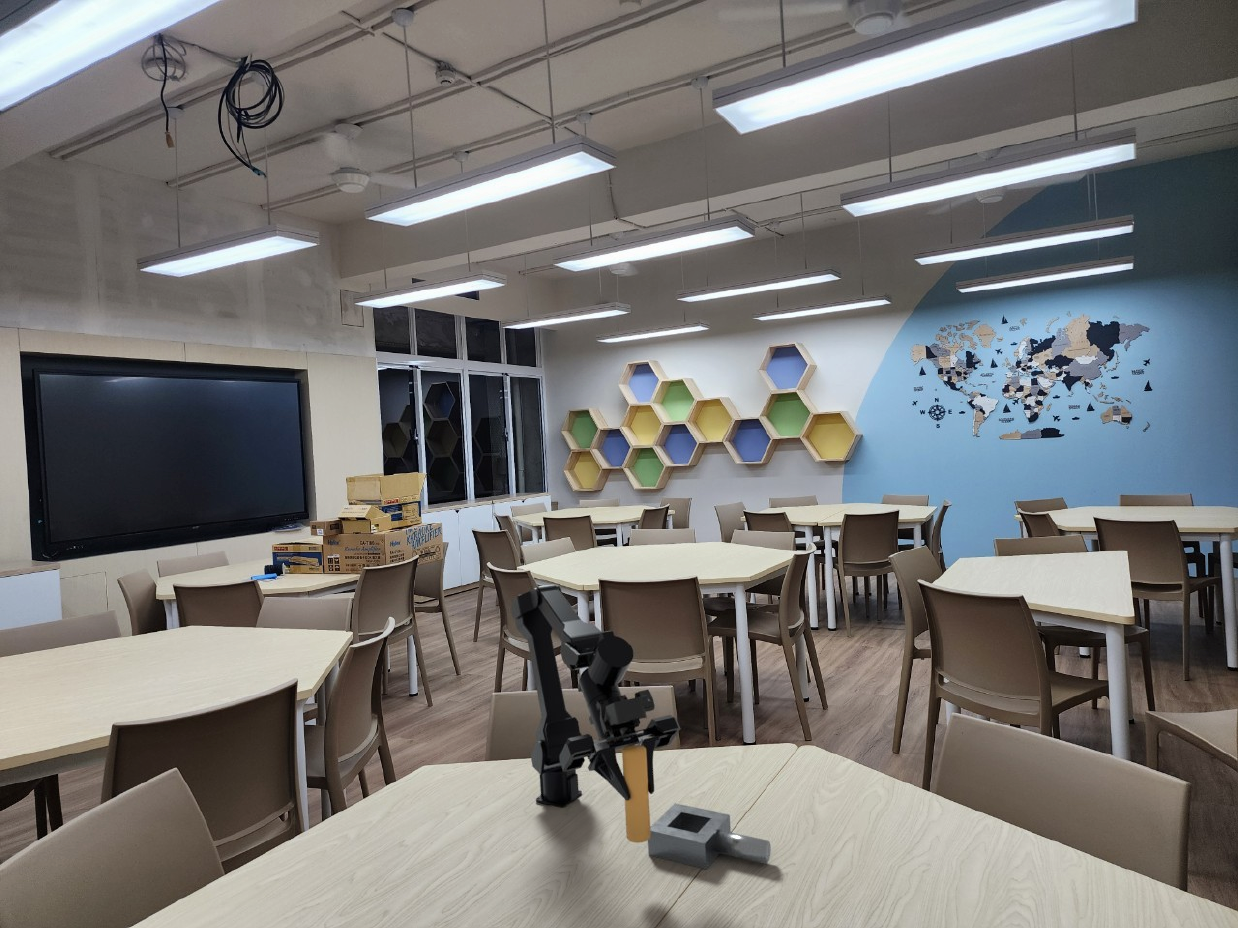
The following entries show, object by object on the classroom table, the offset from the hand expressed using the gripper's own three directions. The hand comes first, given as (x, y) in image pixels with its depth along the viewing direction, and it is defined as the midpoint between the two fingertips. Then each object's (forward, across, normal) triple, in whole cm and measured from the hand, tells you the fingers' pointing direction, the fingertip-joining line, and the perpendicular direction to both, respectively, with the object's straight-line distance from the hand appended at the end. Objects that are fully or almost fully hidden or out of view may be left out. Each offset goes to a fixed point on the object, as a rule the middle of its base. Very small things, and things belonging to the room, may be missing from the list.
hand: (640, 795), depth 112 cm
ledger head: (+8, +14, +11) cm, 19 cm away
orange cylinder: (+4, 0, +6) cm, 7 cm away
